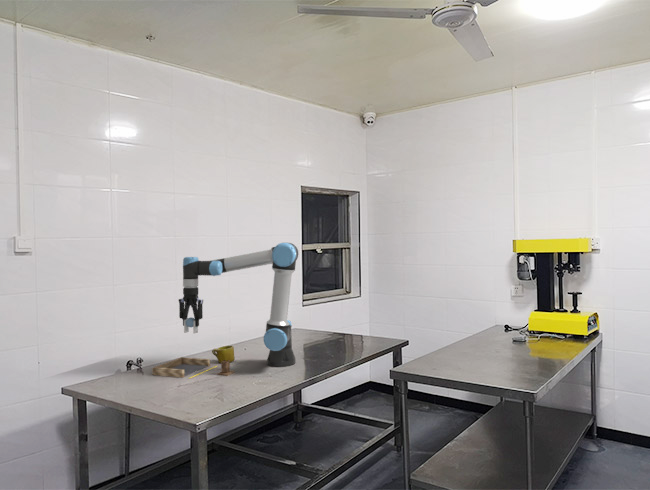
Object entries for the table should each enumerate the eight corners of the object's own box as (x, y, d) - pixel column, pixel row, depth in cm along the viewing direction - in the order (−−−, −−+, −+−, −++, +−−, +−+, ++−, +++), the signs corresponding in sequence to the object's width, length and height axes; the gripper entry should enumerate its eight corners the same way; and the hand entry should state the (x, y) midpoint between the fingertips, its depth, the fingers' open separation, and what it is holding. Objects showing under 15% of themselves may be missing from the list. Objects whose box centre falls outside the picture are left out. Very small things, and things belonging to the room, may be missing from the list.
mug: (241, 356, 273) (234, 340, 271) (231, 366, 264) (224, 350, 262) (224, 358, 279) (217, 343, 277) (214, 368, 270) (206, 352, 268)
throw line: (217, 366, 261) (217, 365, 261) (190, 378, 239) (190, 378, 239) (216, 366, 261) (216, 365, 261) (188, 378, 239) (188, 378, 239)
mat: (207, 366, 261) (207, 365, 261) (183, 376, 243) (183, 375, 243) (182, 364, 267) (182, 363, 267) (157, 374, 248) (156, 373, 248)
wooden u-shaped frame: (209, 365, 262) (209, 359, 262) (182, 377, 241) (182, 370, 241) (181, 363, 269) (181, 357, 269) (152, 374, 248) (152, 367, 248)
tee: (234, 372, 247) (233, 359, 247) (227, 375, 242) (227, 362, 241) (223, 371, 249) (223, 359, 249) (217, 375, 244) (216, 361, 244)
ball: (198, 326, 253) (197, 317, 253) (192, 328, 249) (192, 318, 249) (189, 326, 255) (189, 316, 255) (183, 327, 250) (183, 318, 250)
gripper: (210, 287, 252) (210, 332, 252) (180, 285, 258) (180, 330, 259) (201, 288, 245) (201, 335, 245) (171, 287, 251) (171, 332, 252)
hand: (191, 332), depth 252 cm, fingers closed on ball, 5 cm apart
